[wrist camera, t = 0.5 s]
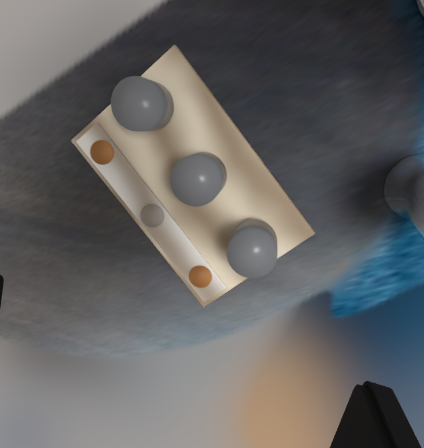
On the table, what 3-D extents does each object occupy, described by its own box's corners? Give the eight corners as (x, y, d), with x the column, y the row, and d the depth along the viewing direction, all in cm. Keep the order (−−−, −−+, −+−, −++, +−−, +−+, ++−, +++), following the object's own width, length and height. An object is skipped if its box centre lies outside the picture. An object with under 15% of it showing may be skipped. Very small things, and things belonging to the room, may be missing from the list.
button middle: (207, 142, 36) (199, 144, 32) (236, 180, 36) (231, 186, 32) (171, 170, 37) (159, 176, 33) (200, 207, 38) (191, 216, 34)
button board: (177, 46, 36) (173, 43, 35) (314, 230, 39) (315, 234, 37) (75, 140, 40) (68, 140, 39) (205, 302, 42) (203, 309, 41)
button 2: (259, 210, 37) (257, 220, 33) (286, 246, 37) (287, 260, 33) (222, 236, 38) (216, 248, 34) (249, 271, 38) (246, 287, 34)
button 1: (153, 70, 35) (138, 64, 31) (183, 110, 36) (172, 108, 32) (119, 102, 36) (100, 99, 32) (148, 140, 37) (133, 142, 33)
